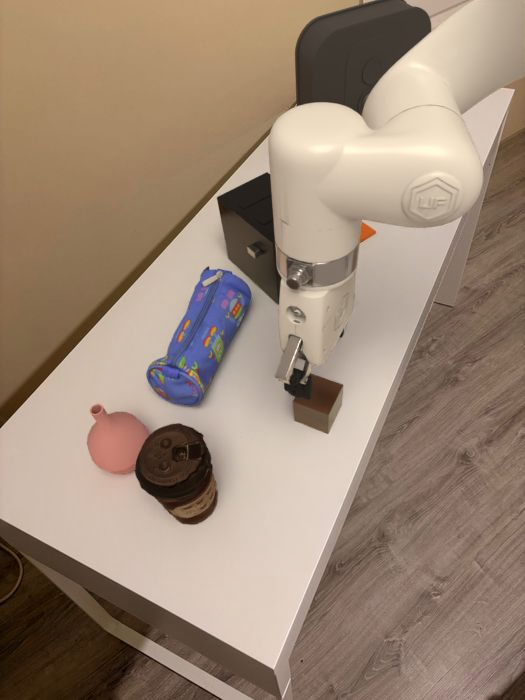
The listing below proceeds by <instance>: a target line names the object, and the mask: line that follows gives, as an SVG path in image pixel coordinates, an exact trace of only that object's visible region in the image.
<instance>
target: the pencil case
mask: <svg viewBox="0 0 525 700" xmlns="http://www.w3.org/2000/svg"><path fill="white" fill-rule="evenodd" d="M252 298H253V294H252V291H251V288H250V286H249V284H248V283H247V282H246V281H245V280H244V279H242V278H241V277H239V276H237V275H235V274H234V273H233V271H231V270H225V269H221V268H216V269H215V268H214V269H210V266H209V265H207V266H206V267H205V268H204V269H203V270H202V271H201V273H200V276H199V280H198V282H197V283H196V285H195V286H194V290H193V292H192V294H191V297H190V299H189V301H188V306H187V309H186V312H185V314H184V316H183V317H182V318H181V321H180V322H179V324H178V326H177V327H176V329H175V331H174V332H173V335H172V338H171V340H170V342H169V345H168V346H167V351H166V355H165V356H163V357H160V358H158V359H155V360H154V361H152V362H151V363H150V364H149V365H148V367H147V369H146V373H145V374H146V381H147V382H148V385H149V386H150V388H151V389H152V390H153V392H155V393H156V394H157V395H158V396H159V397H160V398H162V399H163V400H165V401H168V402H169V403H171V404H174V405H179V406H186V407H195V406H197V405H199V404H200V403H201V402H202V400H203V398H204V394H205V392H206V391H207V390H208V388H209V386H210V384H211V382H212V380H213V378H214V376H215V373H216V372H217V370H218V367H219V365H220V363H221V360H222V358H223V357H224V354H225V352H226V351H227V349H228V347H229V345H230V344H231V343H230V342H231V341H232V339H233V337H234V335H235V334H236V332H237V330H238V329H239V327H240V325H241V322H242V320H243V318H244V316H245V314H246V310H247V309H248V307H249V306H250V304H251V301H252V300H253V299H252Z"/></svg>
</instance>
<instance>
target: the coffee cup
mask: <svg viewBox="0 0 525 700" xmlns="http://www.w3.org/2000/svg"><path fill="white" fill-rule="evenodd" d="M204 436H205V435H204V434H203V433H202V432H199V431H198V430H196V429H195V428H194V427H191V426H189V425H185V424H182V423H180V422H179V423H178V422H177V423H170V424H167V425H163V426H161V427H159V428H157V429H156V430H153V432H152V433H150V434H149V437H148V438H147V439H146V440H145V442H144V444H143V446H142V448H141V450H140V452H139V454H138V457H137V460H136V466H135V470H134V474H135V477H136V479H137V482H138V483H139V486H140V489H142V490H143V491H144V492H146V494H148V495H149V496H151V497H153V498H154V499H155V500H156V501H157V502H158V503H159V504H161V506H162V507H163V509H164V510H166V511H167V513H169V514H170V515H171V516H172V517H173V518H175V520H176V521H178V522H179V523H180V524H182V525H192V526H193V525H198V524H201V523H202V522H204V521H206V520H207V519H208V518H210V517H211V516H212V514H213V513H214V511H215V509H216V507H217V504H218V496H219V491H218V489H217V481H216V479H215V475H214V466H213V464H212V454H211V452H210V450H209V448H208V445H207V443H206V441H205V439H204Z"/></svg>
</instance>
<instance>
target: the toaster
mask: <svg viewBox="0 0 525 700" xmlns="http://www.w3.org/2000/svg"><path fill="white" fill-rule="evenodd" d="M216 201H217V206H218V211H219V217H220V221H221V227H222V232H223V237H224V242H225V243H224V244H225V247H226V252H227V258H228V260H229V261H230V262H232V264H233V265H234V266H236V267H237V268H238V269H239V270H240V271H241V272H242V273H243V274H244V275H245V276H246V277H247V278H248V279H250V280H251V282H253V283H254V284H255V285H256V286H258V287H259V289H261V290H262V291H263V292H264V293H265V294H266V295H267V296H268V297H269V298H271V300H272V301H273V302H275V303H276V304H277V305H278V306H279V297H280V285H281V279H282V277H281V276H280V274H279V273H278V270H277V263H276V248H275V234H274V219H273V207H272V192H271V178H270V172H268V171H266V172H264V173H261V174H260V175H258V176H256V177H254V178H252V179H250V180H248V181H246V182H244V183H242V184H240V185H238V186H236V187H234V188H232V189H230V190H228V191H226V192H223V193H222V194H220V195H218V196H216Z"/></svg>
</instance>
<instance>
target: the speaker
mask: <svg viewBox="0 0 525 700" xmlns="http://www.w3.org/2000/svg"><path fill="white" fill-rule="evenodd" d="M431 31H432V21H431V17H430V16H429V13H428V12H427V11H426V10H425V9H423V8H422V7H420V6H413V5H411V4H409V3H407V1H406V0H370V1H368V2H363V3H360V4H357V5H353V6H350V7H346V8H342V9H339V10H335V11H332V12H328V13H325V14H321V15H319V16H316V17H314V18H312V19H311V20H309V22H307V24H306V25H305V26H304V28H303V29H302V30H301V31H300V34H299V35H298V37H297V40H296V43H295V49H294V73H295V75H294V76H295V96H296V97H295V98H296V99H295V101H296V107H297V106H300V105H303V104H308V103H316V102H328V103H336V104H340V105H344V106H346V107H349V108H351V109H352V110H354V111H355V112H357V113H358V114H359V115H360V116H361V117H362V112H363V108H364V105H365V102H366V100H367V98H368V96H369V94H370V92H371V91H372V89H373V88H374V86H375V85H376V84H377V82H378V81H379V80H380V79H381V77H382V76H383V75H384V74H385V73H386V72H387V71H388V70H389V69H390V68H391V67H392V66H393V65H394V64H395V63H396V62H397V61H398V60H399V59H400V58H402V57H403V56H404V55H405V54H406V53H407V52H408V51H410V50H411V49H412V48H413V47H414V46H415V45H416V44H418V43H419V42H420V41H421V40H422V39H423V38H425V37H426V36H427V35H428V34H429V33H430V32H431Z"/></svg>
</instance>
